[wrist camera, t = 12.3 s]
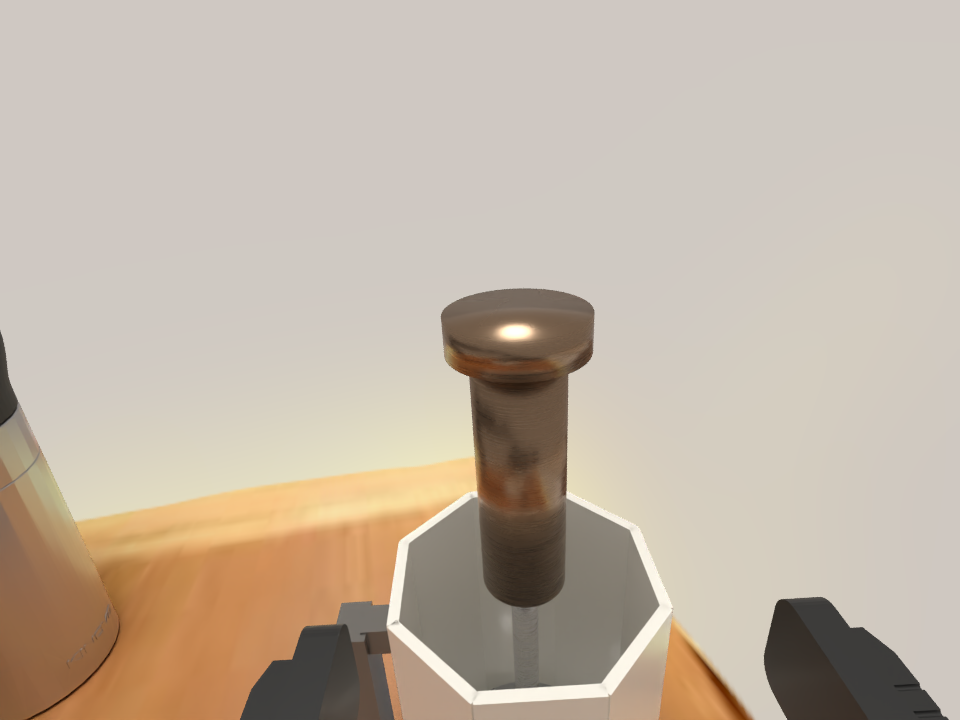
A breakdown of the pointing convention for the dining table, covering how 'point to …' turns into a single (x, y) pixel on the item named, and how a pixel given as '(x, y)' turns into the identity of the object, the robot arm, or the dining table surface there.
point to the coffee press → (489, 631)
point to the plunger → (520, 442)
